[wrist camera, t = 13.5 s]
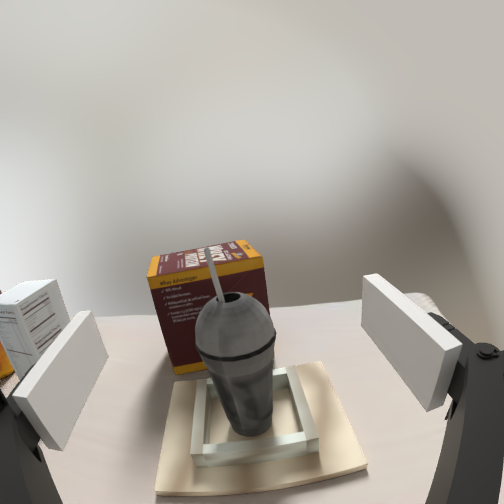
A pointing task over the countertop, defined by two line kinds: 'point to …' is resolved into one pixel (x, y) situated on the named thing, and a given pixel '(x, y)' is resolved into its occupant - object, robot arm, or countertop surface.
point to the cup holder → (257, 439)
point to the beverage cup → (238, 356)
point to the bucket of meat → (4, 362)
